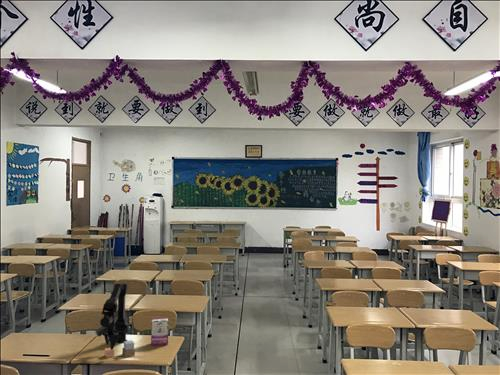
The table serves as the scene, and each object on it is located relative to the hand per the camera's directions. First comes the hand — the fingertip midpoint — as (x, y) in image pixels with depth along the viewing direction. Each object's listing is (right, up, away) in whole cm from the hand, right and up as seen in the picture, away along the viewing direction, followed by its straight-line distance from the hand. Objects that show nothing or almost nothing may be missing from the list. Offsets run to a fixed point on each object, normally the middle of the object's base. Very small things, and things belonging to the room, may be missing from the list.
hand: (109, 347), depth 272 cm
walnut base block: (+11, -6, +3) cm, 13 cm away
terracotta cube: (0, -6, 0) cm, 6 cm away
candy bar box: (+26, -7, +23) cm, 36 cm away
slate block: (+11, -2, +3) cm, 12 cm away
